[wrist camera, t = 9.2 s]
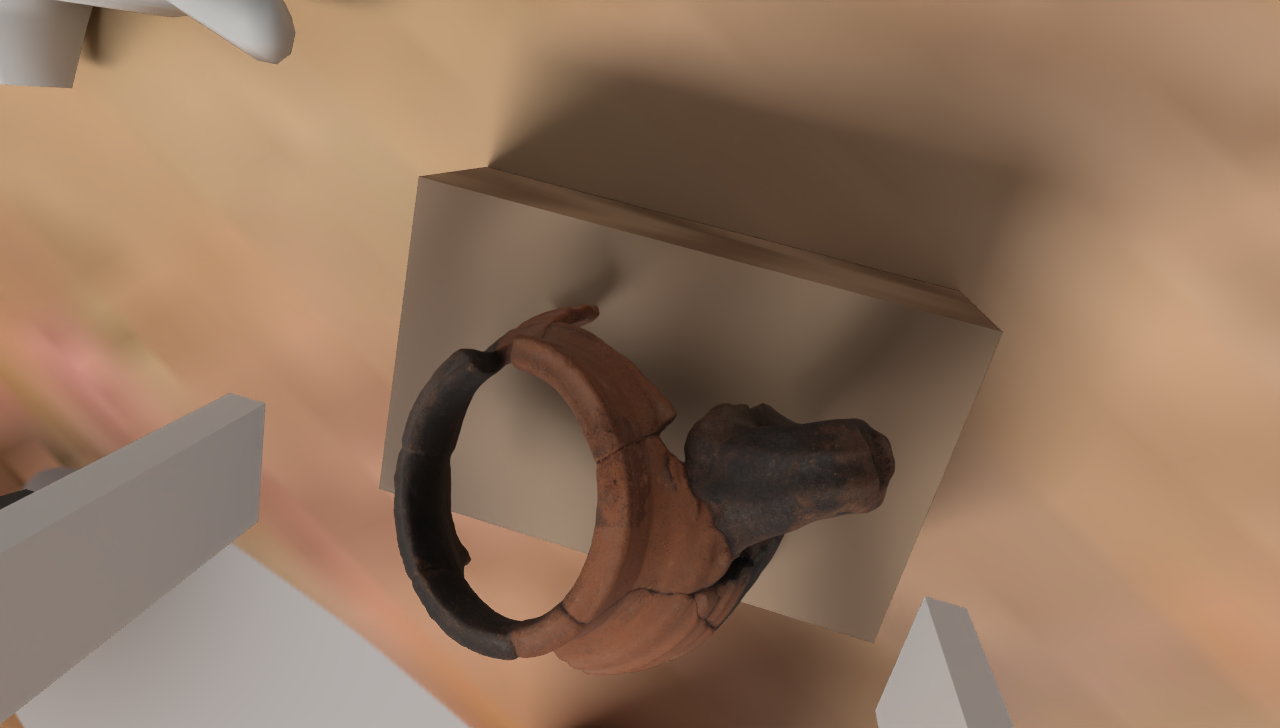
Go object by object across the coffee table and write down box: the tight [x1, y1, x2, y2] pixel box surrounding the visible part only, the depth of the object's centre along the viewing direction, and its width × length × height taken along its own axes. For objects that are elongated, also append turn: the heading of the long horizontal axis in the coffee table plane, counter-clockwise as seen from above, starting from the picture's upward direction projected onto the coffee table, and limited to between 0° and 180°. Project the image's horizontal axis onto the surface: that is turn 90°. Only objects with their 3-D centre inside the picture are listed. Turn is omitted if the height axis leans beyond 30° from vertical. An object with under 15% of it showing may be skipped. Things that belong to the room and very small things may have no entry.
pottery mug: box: [394, 304, 895, 675], centre depth 19 cm, size 12×10×8 cm
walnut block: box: [379, 167, 1003, 643], centre depth 24 cm, size 16×10×5 cm, turn 77°
